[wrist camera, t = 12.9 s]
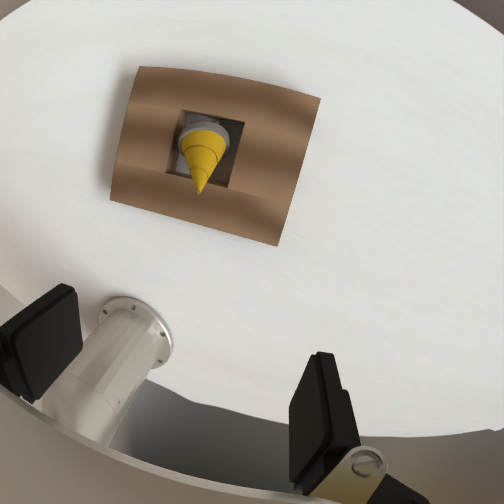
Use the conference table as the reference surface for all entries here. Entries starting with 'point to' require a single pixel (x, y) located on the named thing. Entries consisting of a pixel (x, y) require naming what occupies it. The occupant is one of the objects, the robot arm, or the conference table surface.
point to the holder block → (247, 158)
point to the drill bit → (203, 149)
